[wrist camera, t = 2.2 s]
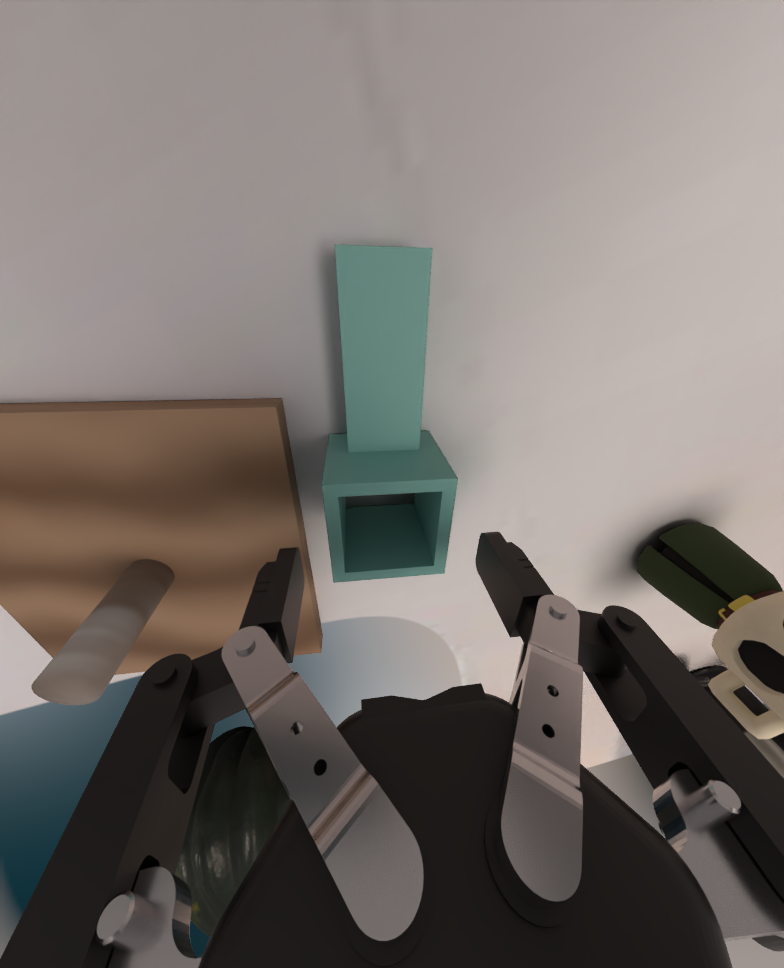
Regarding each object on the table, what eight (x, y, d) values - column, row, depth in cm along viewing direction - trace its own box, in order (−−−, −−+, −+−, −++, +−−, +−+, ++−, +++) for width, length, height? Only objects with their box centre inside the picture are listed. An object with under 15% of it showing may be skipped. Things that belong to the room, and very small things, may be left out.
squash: (140, 771, 23) (112, 1072, 19) (340, 732, 25) (358, 996, 21) (221, 701, 36) (216, 866, 32) (347, 679, 38) (359, 831, 34)
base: (-135, 405, 14) (-620, 511, 7) (281, 398, 16) (229, 474, 9) (88, 658, 24) (-16, 801, 17) (322, 635, 26) (312, 754, 19)
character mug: (705, 480, 22) (1065, 663, 11) (750, 514, 24) (1081, 691, 13) (591, 579, 26) (767, 780, 15) (639, 599, 29) (820, 785, 18)
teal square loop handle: (311, 253, 13) (289, 225, 8) (442, 257, 13) (492, 233, 9) (337, 515, 20) (333, 582, 15) (422, 510, 20) (444, 573, 16)
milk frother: (707, 695, 43) (854, 857, 31) (602, 715, 43) (708, 890, 30) (761, 636, 36) (983, 818, 23) (635, 659, 35) (795, 860, 23)
